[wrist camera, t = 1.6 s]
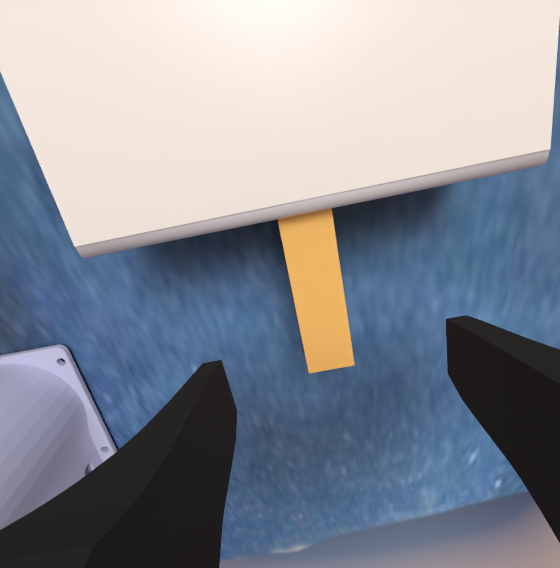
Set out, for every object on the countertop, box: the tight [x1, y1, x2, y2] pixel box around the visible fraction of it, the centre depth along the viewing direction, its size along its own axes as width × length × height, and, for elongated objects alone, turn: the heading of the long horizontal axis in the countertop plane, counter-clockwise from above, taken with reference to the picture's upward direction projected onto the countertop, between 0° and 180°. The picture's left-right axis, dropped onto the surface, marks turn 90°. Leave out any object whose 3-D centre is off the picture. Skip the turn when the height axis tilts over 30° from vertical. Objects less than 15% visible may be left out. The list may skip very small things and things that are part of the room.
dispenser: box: [0, 0, 560, 258], centre depth 14 cm, size 10×16×7 cm, turn 101°
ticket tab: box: [278, 208, 355, 373], centre depth 15 cm, size 14×2×5 cm, turn 11°
